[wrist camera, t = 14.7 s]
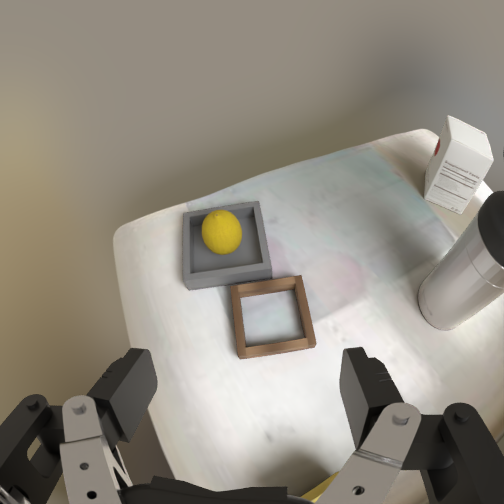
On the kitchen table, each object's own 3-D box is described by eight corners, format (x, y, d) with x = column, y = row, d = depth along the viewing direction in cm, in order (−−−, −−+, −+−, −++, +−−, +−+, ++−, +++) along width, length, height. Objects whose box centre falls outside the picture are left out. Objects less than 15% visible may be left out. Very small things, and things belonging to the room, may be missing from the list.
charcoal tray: (260, 213, 47) (259, 200, 45) (272, 278, 41) (271, 268, 38) (188, 224, 47) (183, 213, 45) (189, 290, 41) (183, 281, 38)
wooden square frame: (300, 281, 40) (301, 275, 39) (314, 347, 35) (316, 343, 34) (232, 292, 40) (230, 286, 39) (240, 359, 35) (238, 356, 34)
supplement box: (424, 170, 51) (446, 113, 38) (459, 186, 48) (487, 132, 35) (422, 199, 47) (450, 137, 34) (461, 216, 44) (495, 159, 31)
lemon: (203, 242, 45) (190, 208, 38) (236, 228, 45) (229, 193, 39) (215, 270, 42) (203, 239, 35) (250, 255, 43) (245, 221, 36)
